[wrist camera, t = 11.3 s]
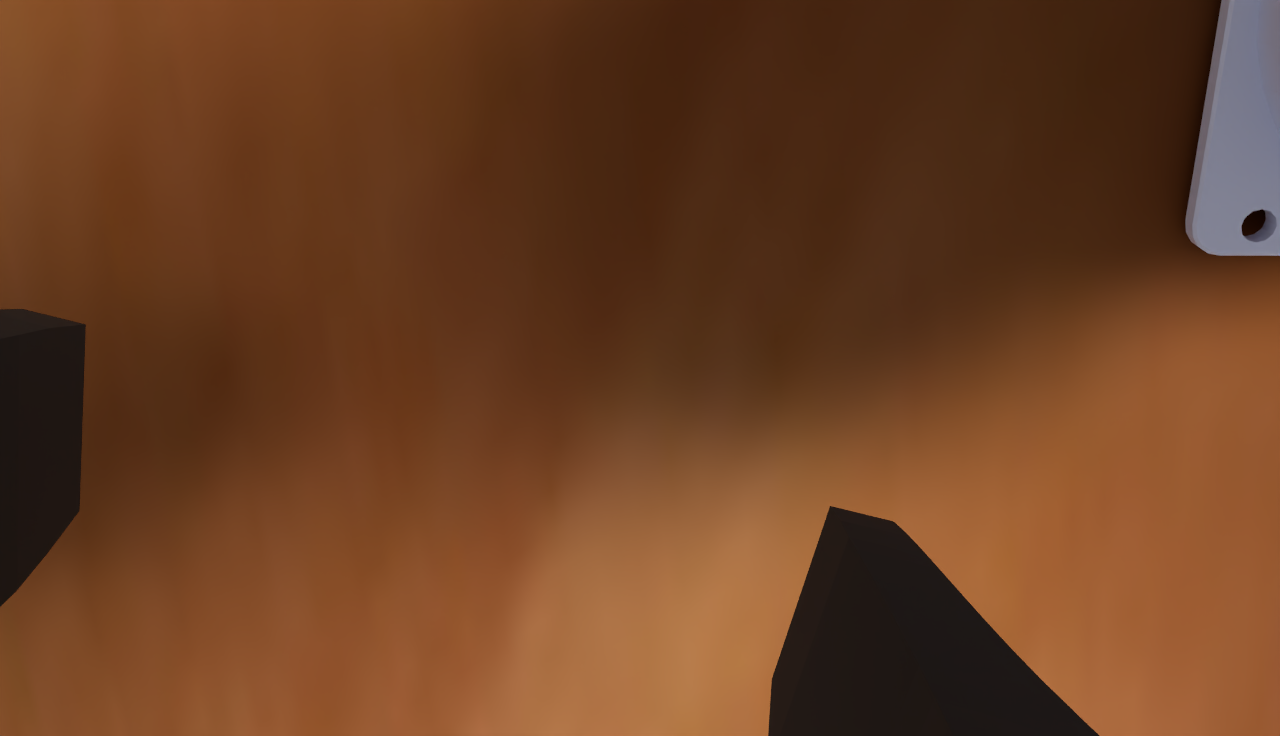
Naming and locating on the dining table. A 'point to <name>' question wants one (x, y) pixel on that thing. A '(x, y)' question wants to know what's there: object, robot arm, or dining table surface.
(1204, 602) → the dining table surface
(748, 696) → the dining table surface
